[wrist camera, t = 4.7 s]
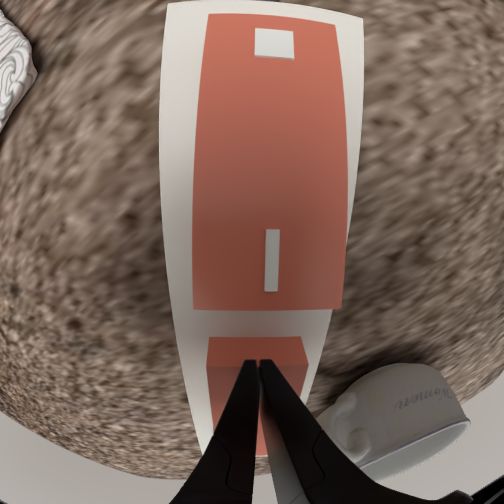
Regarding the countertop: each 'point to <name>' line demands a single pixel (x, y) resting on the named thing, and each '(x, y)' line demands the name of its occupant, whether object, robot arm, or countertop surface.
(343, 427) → the teacup
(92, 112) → the countertop surface
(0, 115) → the cookie jar
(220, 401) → the block
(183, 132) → the power strip
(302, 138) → the rocker
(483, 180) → the countertop surface
